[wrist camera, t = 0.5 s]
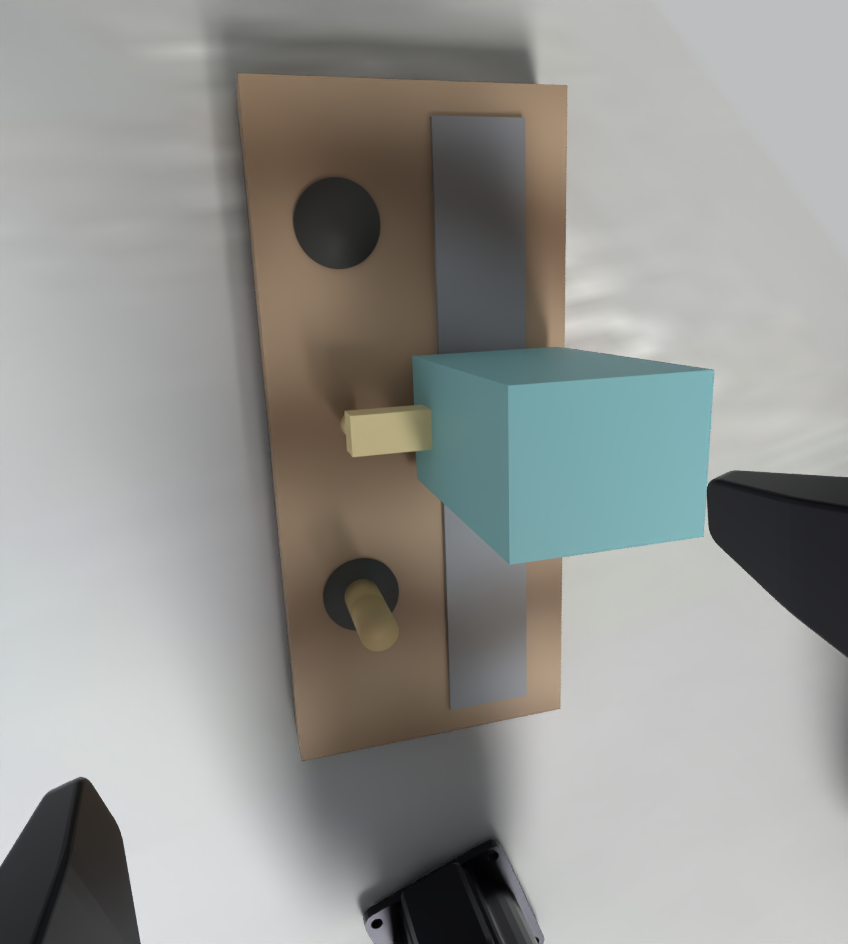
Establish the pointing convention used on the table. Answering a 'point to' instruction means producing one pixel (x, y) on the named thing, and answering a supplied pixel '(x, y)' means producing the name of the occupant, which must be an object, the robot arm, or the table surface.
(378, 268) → the board
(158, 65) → the table surface
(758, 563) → the robot arm
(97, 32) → the table surface
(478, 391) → the block
